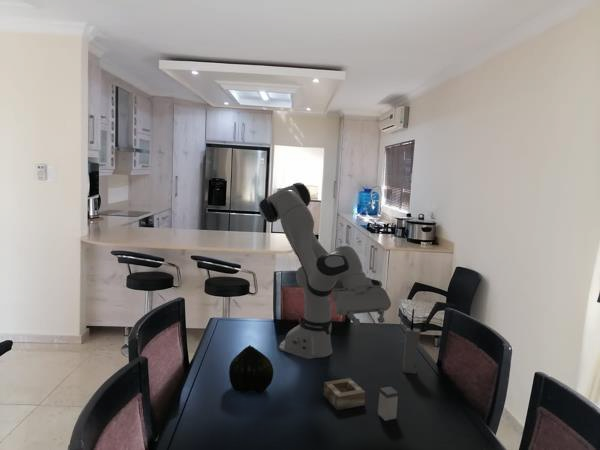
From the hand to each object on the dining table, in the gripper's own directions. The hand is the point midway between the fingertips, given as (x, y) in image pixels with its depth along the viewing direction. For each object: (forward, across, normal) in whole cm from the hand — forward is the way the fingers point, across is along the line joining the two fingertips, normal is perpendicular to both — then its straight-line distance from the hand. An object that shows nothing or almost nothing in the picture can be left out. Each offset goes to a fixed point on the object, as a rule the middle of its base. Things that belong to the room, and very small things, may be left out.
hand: (369, 323), depth 142 cm
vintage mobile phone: (+10, +27, +27) cm, 40 cm away
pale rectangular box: (+27, 0, +10) cm, 29 cm away
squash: (+6, -36, +30) cm, 47 cm away
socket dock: (+18, -8, +18) cm, 27 cm away
